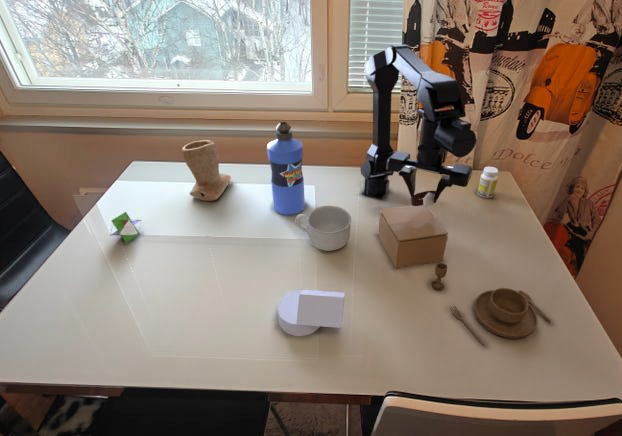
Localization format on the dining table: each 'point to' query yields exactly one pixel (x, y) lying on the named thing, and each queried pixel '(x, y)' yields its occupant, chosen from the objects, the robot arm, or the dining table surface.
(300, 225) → the teacup
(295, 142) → the water bottle
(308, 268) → the dining table surface
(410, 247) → the carton
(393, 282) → the dining table surface
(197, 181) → the stone cup
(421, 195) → the watch
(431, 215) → the flap
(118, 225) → the geometric puzzle
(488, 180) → the supplement bottle
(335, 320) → the wedge on round base
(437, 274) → the place setting
